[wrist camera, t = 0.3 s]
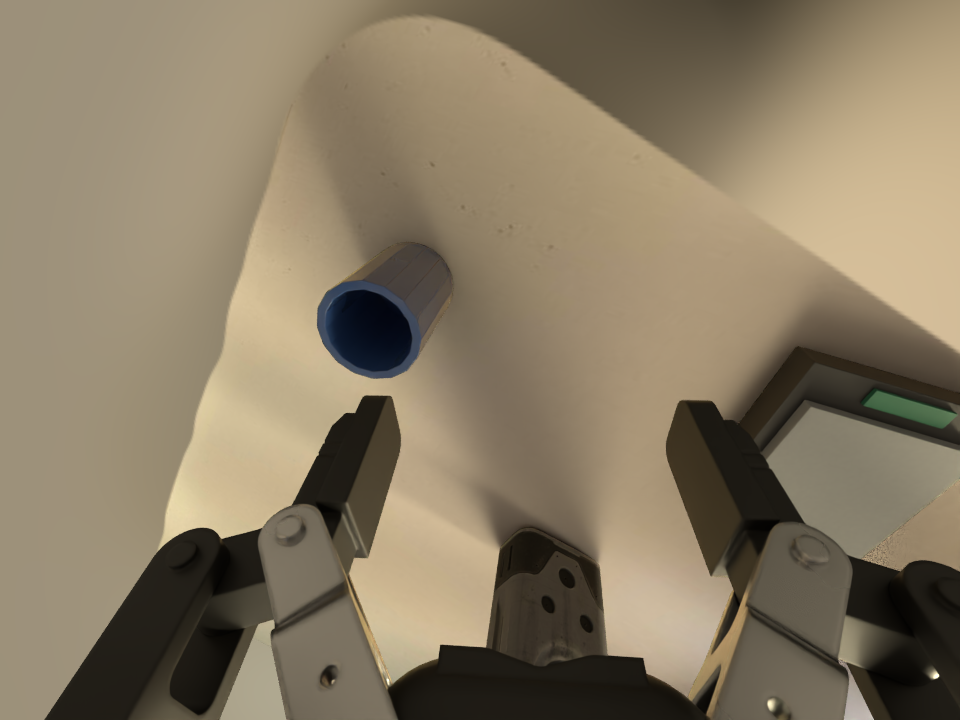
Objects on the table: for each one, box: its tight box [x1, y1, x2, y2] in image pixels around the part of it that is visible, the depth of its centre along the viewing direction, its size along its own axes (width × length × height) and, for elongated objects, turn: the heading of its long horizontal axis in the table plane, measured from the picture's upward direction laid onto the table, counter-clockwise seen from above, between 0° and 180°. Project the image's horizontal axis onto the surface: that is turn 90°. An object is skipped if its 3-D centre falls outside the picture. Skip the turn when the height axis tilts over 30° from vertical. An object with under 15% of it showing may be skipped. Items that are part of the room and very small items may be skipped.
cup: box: [317, 242, 453, 379], centre depth 26 cm, size 6×6×8 cm
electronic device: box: [486, 528, 608, 667], centre depth 33 cm, size 9×6×20 cm, turn 61°
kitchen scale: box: [738, 346, 960, 559], centre depth 29 cm, size 15×13×3 cm
